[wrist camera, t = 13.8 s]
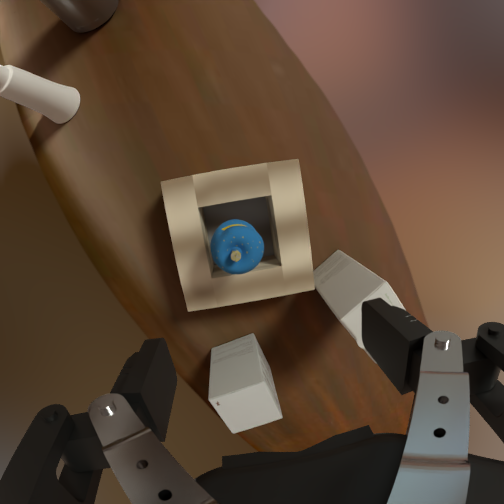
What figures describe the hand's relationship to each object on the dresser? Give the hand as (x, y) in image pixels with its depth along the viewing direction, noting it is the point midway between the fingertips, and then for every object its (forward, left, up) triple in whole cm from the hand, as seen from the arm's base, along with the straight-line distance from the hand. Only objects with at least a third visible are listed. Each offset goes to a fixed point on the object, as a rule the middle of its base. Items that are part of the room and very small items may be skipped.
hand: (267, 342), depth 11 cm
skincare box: (+10, +13, -30) cm, 34 cm away
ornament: (0, 0, -30) cm, 30 cm away
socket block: (0, 0, -30) cm, 30 cm away
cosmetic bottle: (-24, -23, -30) cm, 45 cm away
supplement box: (+20, -3, -30) cm, 36 cm away
